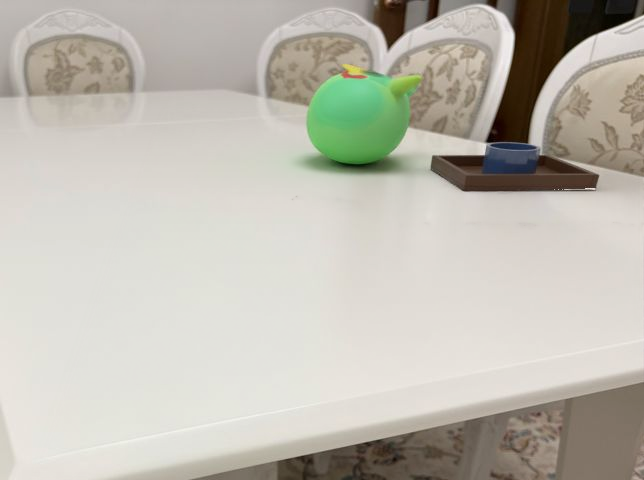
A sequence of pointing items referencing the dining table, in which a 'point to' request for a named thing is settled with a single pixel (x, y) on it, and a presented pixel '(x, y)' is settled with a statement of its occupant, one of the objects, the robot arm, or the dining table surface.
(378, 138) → the toy bird
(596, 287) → the dining table surface
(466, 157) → the serving tray
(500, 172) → the blue bowl
